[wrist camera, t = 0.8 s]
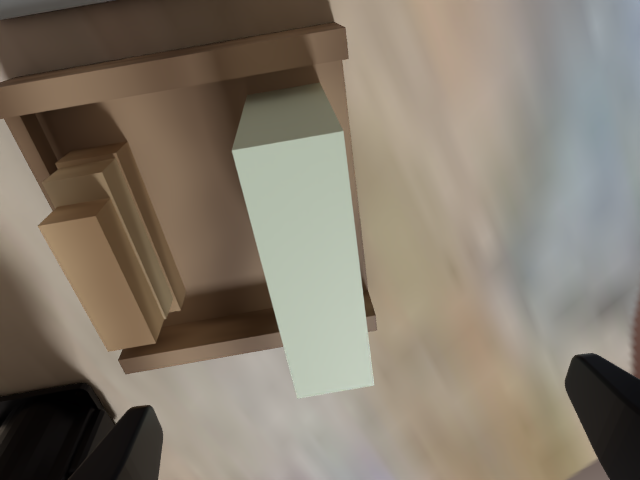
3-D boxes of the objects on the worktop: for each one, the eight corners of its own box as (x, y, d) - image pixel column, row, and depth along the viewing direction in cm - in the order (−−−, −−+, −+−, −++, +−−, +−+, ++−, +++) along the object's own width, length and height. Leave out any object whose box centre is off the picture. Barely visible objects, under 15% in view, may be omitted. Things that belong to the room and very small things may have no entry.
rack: (141, 333, 24) (125, 374, 22) (16, 77, 17) (-30, 92, 15) (366, 294, 24) (377, 330, 22) (334, 22, 17) (345, 27, 15)
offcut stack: (140, 299, 22) (111, 365, 18) (71, 151, 18) (13, 195, 14) (186, 291, 22) (167, 356, 18) (127, 141, 18) (86, 182, 14)
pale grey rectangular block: (291, 289, 22) (297, 398, 16) (247, 95, 17) (231, 150, 11) (347, 279, 22) (374, 385, 16) (320, 82, 17) (343, 131, 11)
